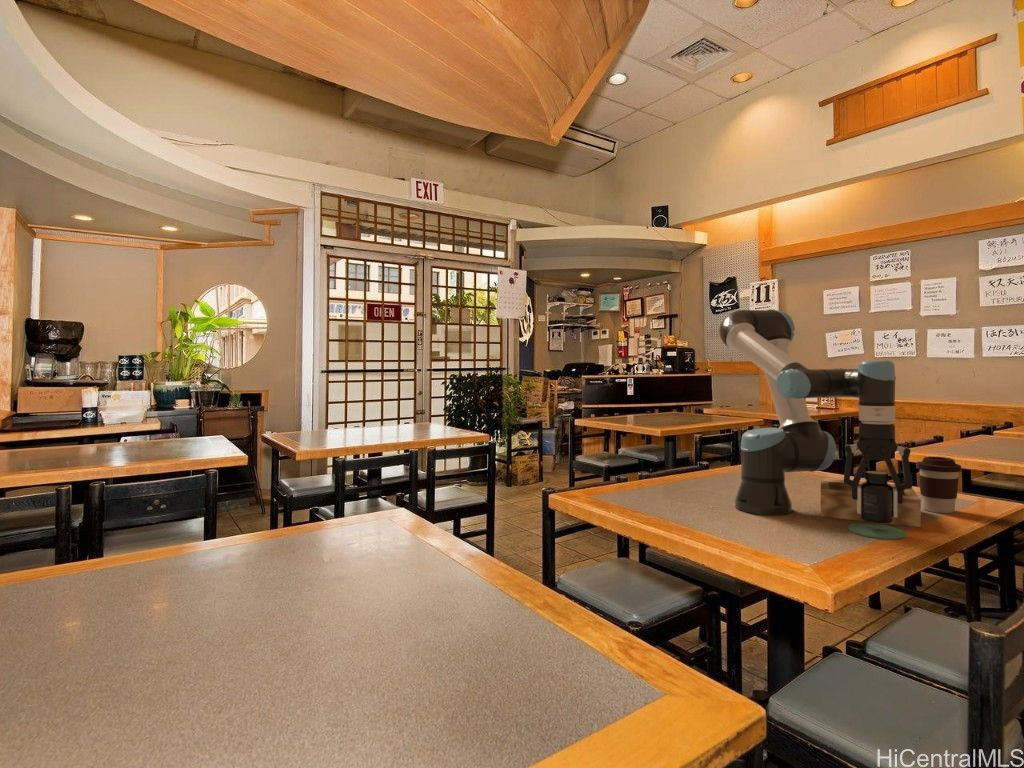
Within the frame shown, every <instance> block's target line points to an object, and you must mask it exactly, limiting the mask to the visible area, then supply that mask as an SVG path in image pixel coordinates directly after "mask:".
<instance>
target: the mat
mask: <svg viewBox="0 0 1024 768" xmlns="http://www.w3.org/2000/svg"><path fill="white" fill-rule="evenodd" d="M847 530H848V531H849V532H850V533H852V534H855V535H857V536H860V537H861V536H862V537H865V538H870V539H877V540H886V541H888V540H891V541H892V540H893V541H896V540H897V541H899V540H903V539H906V537H907V534H906V531H904V530H903V529H900V528H897V527H894V526H889V525H886V524H881V523H872V522H869V523H867V522H858V523H851V524H849V525H847Z"/></svg>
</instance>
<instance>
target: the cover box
mask: <svg viewBox="0 0 1024 768" xmlns="http://www.w3.org/2000/svg"><path fill="white" fill-rule="evenodd" d="M864 482H865V481H860V482H859V484H858V486H861V484H862V483H864ZM889 484H890V485H891V486H892V487H893V489H896V486H895V483H889ZM921 507H922V499H921V498H920V497H919V496H918V494H917V492H916V491H915V490H914V488H913V487H912V488H911V489H905V490H904V491H903V502H902V504H900V503H897V518H896V517H893V521H892V522H891V523H887V524H888V525H899V526H907V527H908V526H909V527H915V528H917V527H918V528H921V517H922V516H921V510H922V509H921ZM820 517H822V518H823V517H824V518H832V519H843V520H851V521H862V522H866V521H865V520H863V519H862V518H861V514H858V513H857V500H854V499H853V498H852V487H851V486H850V485H848V484H845V483H844V479H831V478H820Z"/></svg>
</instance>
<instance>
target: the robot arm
mask: <svg viewBox="0 0 1024 768" xmlns="http://www.w3.org/2000/svg"><path fill="white" fill-rule="evenodd" d="M718 331H719V337H720V340H721V341H722V343H723V344H724V345H725V347H727V348H728V349H730V350H731V351H734V352H738V353H740V354H742V355H743V356H744V357H745V358H746V359H747V360H748V361H750V362H752V363H753V364H754V365H755V366H757V368H758V369H760V370H761V371H762V372H763V373H764V377H765V380H766V383H767V386H768V388H769V393H770V395H771V396H770V397H771V399H772V402H773V405H774V409H775V412H776V416H777V419H778V421H779V427H761V428H754V429H750V430H749V429H748V430H746V431H745V432H744V433H743V434H742V436H741V441H740V442H741V443H740V460H741V463H740V466H741V467H740V470H741V473H740V474H741V477H740V478H741V482H740V485H739V487H738V489H737V493H736V496H735V500H734V507H735V508H736V509H737V510H739V511H742V512H746V513H749V514H755V515H763V516H782V515H788V514H790V513H792V512H793V511H792V509H793V508H792V507H793V506H792V501H791V498H790V495H789V492H788V490H787V486H786V480H785V479H786V473H797V472H798V473H799V472H800V473H801V472H809V473H810V472H811V473H813V472H815V471H816V472H817V471H824V470H826V469H828V468H829V467H831V465H832V464H833V462H834V459H835V457H836V449H837V446H836V441H835V439H834V437H833V435H831V434H830V433H829V432H828V431H825V430H822V429H821V426H820V423H819V421H817V420H816V419H813V418H811V414H810V411H809V409H808V406H807V402H806V400H805V399H813V398H814V399H815V398H816V399H817V398H820V399H821V398H822V399H823V398H857V399H858V421H861V422H859V424H858V441H857V442H856V443H854V444H853V443H852V444H845V445H844V449H845V452H846V457H845V466H844V474H843V480H844V483H845V484H848V485H850V486H851V487H852V498H853V499H854V500H857V513H858V514H861V486H858V484H859V482H861V480H862V476H863V475H864V474H865V473H864V472H865V470H866V468H867V465H868V464H869V462H870V461H875V460H878V461H883V462H885V464H886V466H887V469H888V471H889V474H890V476H891V478H892V480H893V484H895V486H896V489H893V517H896V518H897V503H900V504H902V502H903V491H904V490H905V489H911V488H912V489H913V484H912V483H913V482H912V475H911V468H910V467H911V466H910V460H909V457H910V455H911V449H910V448H909V447H908V446H901V445H900V446H899V445H898V444H897V442H896V425H895V424H894V423H895V421H896V379H897V376H896V368H895V363H894V362H893V361H891V360H863V361H859V363H858V368H841V367H840V368H828V369H827V368H826V369H825V368H823V369H821V368H818V369H816V368H815V369H814V368H812V369H810V368H808V367H806V366H804V365H803V364H801V363H800V362H798V360H796V359H794V357H792V356H791V354H790V352H789V348H790V347H791V346H792V341H793V340H794V337H795V323H794V321H793V319H792V317H791V316H790V315H789V314H788V313H787V312H785V311H782V310H776V309H763V310H762V309H739V310H735V311H732V312H730V313H728V314H727V315H726V316H725V317H723V319H722V321H721V322H720V325H719V328H718ZM856 449H858V451H860V452H861V454H862V458H861V460H860V463H859V464H858V465H859V466H858V467H857V471H856V472H855V474H854V477H853V479H851V472H852V464H853V463H852V462H853V457H854V455H853V454H854V453H856ZM896 451H897V452H898V454H899V456H901V465H902V473H903V482H904V483H901V481H900V478H899V476H898V473H897V471H896V469H895V465H894V463H893V461H892V459H891V457H892V455H893V454H894V453H895V452H896Z"/></svg>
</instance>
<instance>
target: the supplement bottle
mask: <svg viewBox="0 0 1024 768" xmlns="http://www.w3.org/2000/svg"><path fill="white" fill-rule="evenodd" d="M864 472H865V473H864V479H865V481H863V482H864V483H862V484H861V518H862V519H863V520H865V521H864V522H869V523H873V524H888V523H891V522H892V521H893V487H892V486H891V485H890V484H891V483H888V482H889V473H888V472H883V471H877V470H876V471H875V470H869V471H864Z"/></svg>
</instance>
